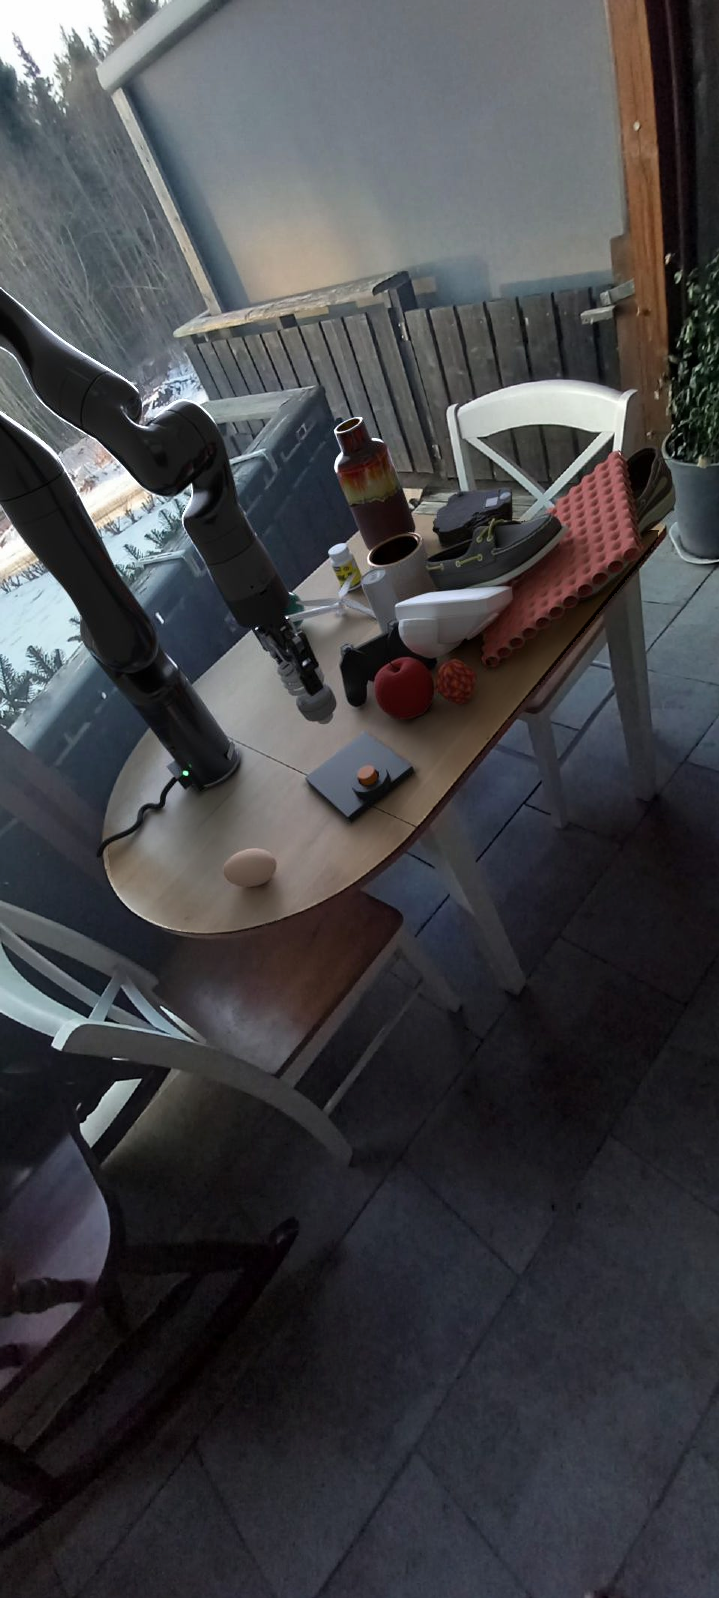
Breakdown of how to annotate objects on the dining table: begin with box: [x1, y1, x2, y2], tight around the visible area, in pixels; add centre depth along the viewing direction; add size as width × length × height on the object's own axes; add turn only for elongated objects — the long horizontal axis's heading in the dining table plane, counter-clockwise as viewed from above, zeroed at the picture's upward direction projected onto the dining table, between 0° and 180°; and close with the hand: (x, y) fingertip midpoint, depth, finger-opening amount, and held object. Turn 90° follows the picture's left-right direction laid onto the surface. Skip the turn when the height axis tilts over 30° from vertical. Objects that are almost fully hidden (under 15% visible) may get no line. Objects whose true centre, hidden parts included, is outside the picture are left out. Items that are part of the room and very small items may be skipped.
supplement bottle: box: [328, 542, 363, 592], centre depth 150 cm, size 5×5×8 cm
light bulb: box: [276, 662, 338, 725], centre depth 103 cm, size 6×6×12 cm
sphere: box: [284, 590, 306, 630], centre depth 147 cm, size 8×8×8 cm
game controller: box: [338, 619, 438, 708], centre depth 124 cm, size 16×7×10 cm, turn 107°
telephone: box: [395, 586, 513, 658], centre depth 119 cm, size 16×20×9 cm
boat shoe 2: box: [578, 445, 677, 603], centre depth 122 cm, size 32×13×12 cm, turn 127°
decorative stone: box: [434, 658, 479, 706], centre depth 112 cm, size 6×7×8 cm
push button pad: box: [304, 731, 416, 824], centre depth 111 cm, size 14×12×3 cm
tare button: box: [357, 766, 378, 786], centre depth 106 cm, size 3×3×2 cm
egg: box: [222, 847, 277, 888], centre depth 104 cm, size 5×5×8 cm
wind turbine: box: [285, 572, 376, 622], centre depth 143 cm, size 4×14×21 cm
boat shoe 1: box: [425, 512, 569, 592], centre depth 121 cm, size 11×29×9 cm, turn 58°
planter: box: [366, 532, 436, 603], centre depth 138 cm, size 11×11×10 cm
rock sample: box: [431, 486, 514, 548], centre depth 148 cm, size 18×16×5 cm
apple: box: [373, 657, 435, 720], centre depth 115 cm, size 9×9×10 cm
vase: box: [333, 416, 417, 552], centre depth 147 cm, size 11×11×26 cm
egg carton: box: [481, 449, 645, 668], centre depth 117 cm, size 28×28×2 cm
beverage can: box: [361, 568, 399, 634], centre depth 131 cm, size 5×5×12 cm
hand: (305, 683), depth 102 cm, fingers closed on light bulb, 5 cm apart
